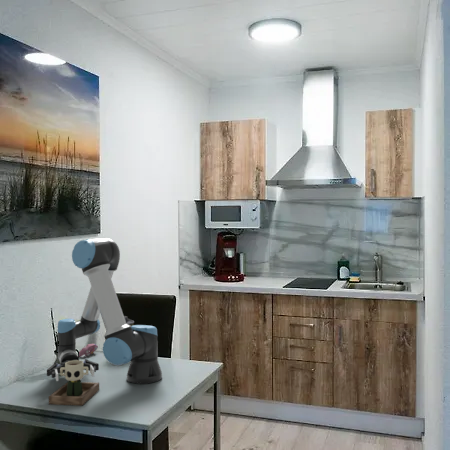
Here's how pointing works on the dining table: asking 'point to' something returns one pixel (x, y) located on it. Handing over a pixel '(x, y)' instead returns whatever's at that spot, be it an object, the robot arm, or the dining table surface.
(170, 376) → the dining table surface
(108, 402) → the dining table surface
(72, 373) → the character mug
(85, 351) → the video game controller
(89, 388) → the wooden tray
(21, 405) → the dining table surface
